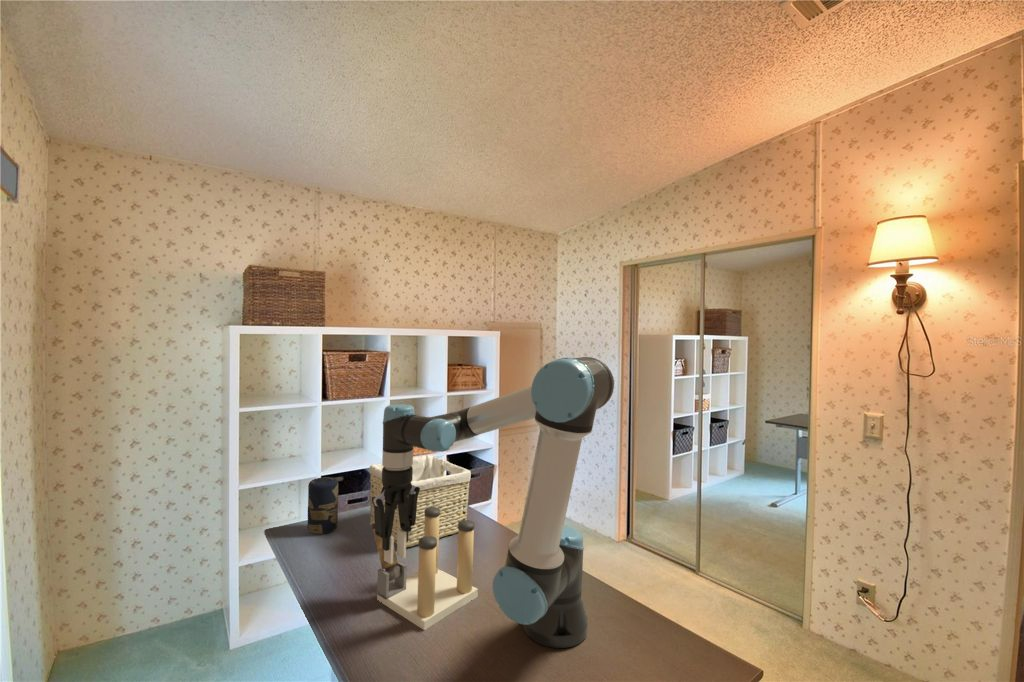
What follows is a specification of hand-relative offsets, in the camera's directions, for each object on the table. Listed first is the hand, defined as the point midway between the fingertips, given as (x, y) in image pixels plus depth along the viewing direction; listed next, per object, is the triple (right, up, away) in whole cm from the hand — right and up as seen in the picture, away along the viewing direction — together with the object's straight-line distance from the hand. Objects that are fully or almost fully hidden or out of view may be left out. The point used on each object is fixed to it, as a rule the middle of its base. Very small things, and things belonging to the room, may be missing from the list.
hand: (395, 558), depth 115 cm
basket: (-3, -10, +44) cm, 45 cm away
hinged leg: (-4, 0, +3) cm, 6 cm away
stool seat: (+8, -11, +2) cm, 14 cm away
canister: (-35, -9, +40) cm, 53 cm away
